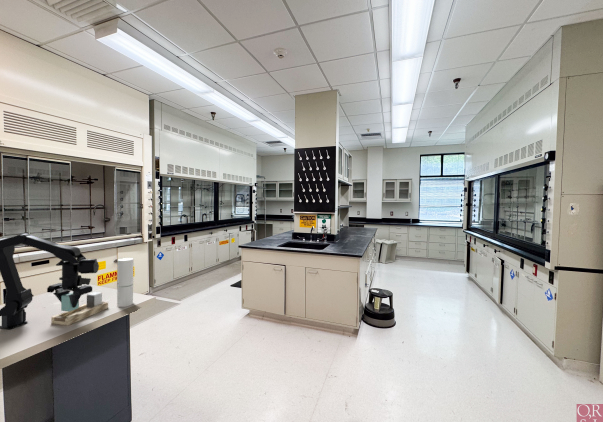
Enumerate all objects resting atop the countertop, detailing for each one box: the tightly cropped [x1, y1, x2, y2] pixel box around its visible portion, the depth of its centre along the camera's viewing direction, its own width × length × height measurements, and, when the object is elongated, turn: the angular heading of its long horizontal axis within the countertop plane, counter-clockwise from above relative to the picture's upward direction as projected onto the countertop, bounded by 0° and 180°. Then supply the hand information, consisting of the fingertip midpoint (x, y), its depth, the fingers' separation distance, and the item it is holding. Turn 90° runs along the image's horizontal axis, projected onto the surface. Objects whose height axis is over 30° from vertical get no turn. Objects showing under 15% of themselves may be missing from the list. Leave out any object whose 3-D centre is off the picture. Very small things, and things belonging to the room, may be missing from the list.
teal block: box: [60, 292, 80, 312], centre depth 119 cm, size 4×5×7 cm
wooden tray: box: [50, 301, 109, 326], centre depth 125 cm, size 20×9×3 cm, turn 171°
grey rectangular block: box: [86, 291, 103, 308], centre depth 131 cm, size 4×5×7 cm
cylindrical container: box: [116, 257, 134, 308], centre depth 139 cm, size 7×7×25 cm
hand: (69, 306), depth 119 cm, fingers closed on teal block, 5 cm apart
